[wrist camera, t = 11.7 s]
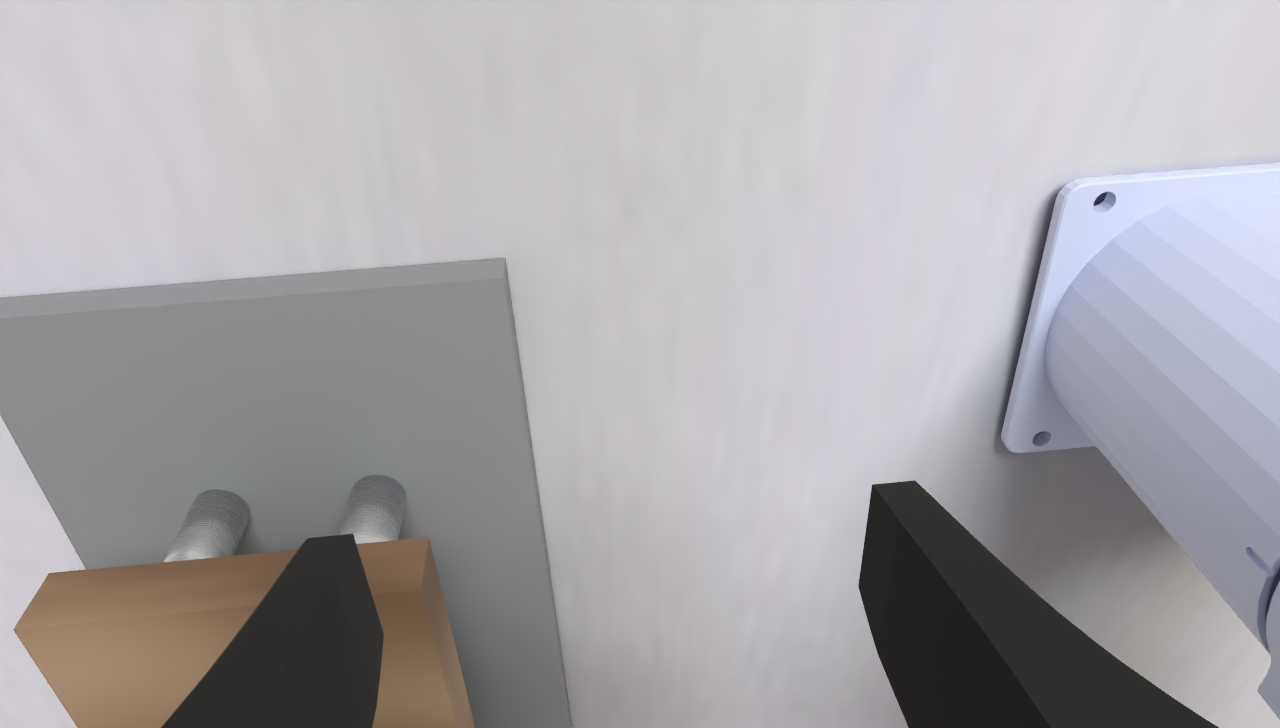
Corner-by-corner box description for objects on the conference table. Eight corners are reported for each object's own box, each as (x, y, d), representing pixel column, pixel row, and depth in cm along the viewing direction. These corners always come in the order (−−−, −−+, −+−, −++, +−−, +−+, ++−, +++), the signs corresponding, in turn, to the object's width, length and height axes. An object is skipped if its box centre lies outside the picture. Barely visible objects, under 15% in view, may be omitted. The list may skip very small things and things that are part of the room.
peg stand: (505, 257, 21) (495, 363, 17) (581, 790, 33) (585, 920, 29) (-27, 299, 20) (-160, 419, 16) (252, 826, 32) (213, 964, 28)
